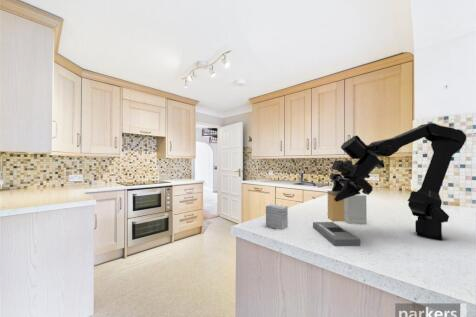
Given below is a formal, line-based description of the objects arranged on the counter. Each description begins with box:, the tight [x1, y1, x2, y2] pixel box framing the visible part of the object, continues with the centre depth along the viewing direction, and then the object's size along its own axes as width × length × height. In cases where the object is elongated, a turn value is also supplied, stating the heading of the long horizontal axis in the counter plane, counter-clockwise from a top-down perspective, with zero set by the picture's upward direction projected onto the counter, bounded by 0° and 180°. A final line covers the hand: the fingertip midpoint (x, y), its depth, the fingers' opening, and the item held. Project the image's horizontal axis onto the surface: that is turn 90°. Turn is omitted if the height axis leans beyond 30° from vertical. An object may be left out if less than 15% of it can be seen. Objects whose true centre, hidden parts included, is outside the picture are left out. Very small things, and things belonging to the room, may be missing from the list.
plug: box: [327, 190, 345, 223], centre depth 73 cm, size 4×4×10 cm
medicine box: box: [265, 204, 289, 231], centre depth 83 cm, size 8×4×9 cm, turn 47°
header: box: [312, 221, 361, 247], centre depth 73 cm, size 8×18×3 cm, turn 1°
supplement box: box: [344, 193, 368, 225], centre depth 89 cm, size 7×7×13 cm
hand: (332, 199), depth 73 cm, fingers closed on plug, 4 cm apart
